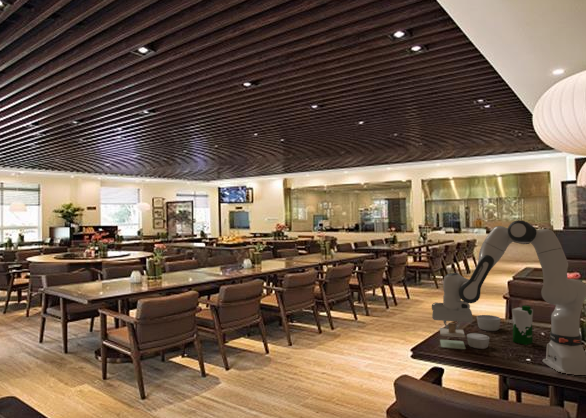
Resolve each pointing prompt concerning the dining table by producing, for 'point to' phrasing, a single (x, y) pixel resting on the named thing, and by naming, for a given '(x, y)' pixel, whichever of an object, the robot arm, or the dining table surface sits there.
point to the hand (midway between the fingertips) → (452, 329)
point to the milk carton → (522, 325)
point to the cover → (452, 331)
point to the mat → (452, 344)
